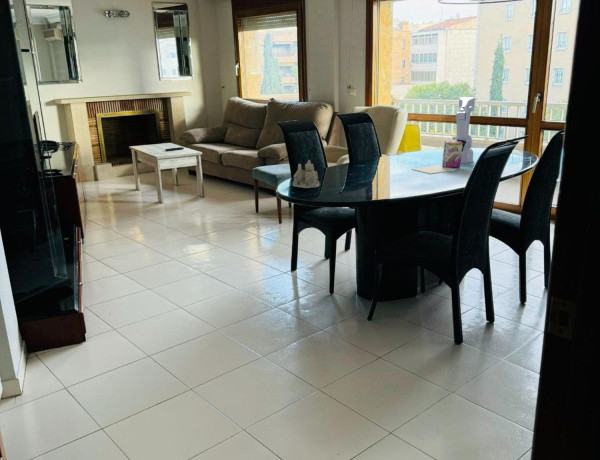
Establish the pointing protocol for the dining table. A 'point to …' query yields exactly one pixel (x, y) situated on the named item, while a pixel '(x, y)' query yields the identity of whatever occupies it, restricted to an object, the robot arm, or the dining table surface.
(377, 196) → the dining table surface
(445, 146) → the candy bar box
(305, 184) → the white castle figurine
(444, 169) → the mat
